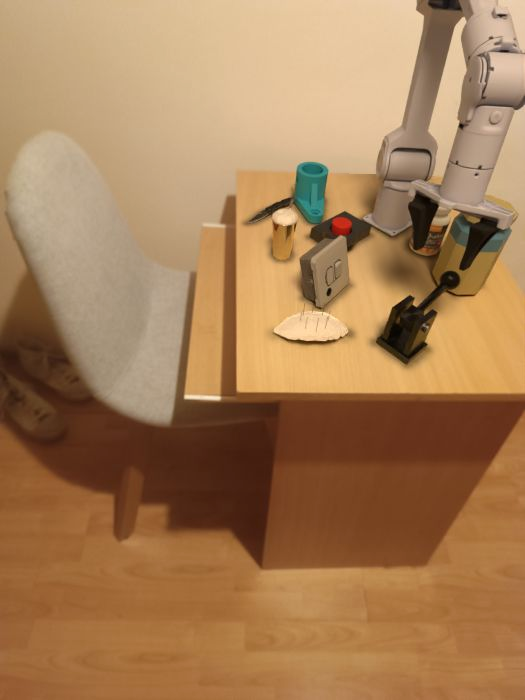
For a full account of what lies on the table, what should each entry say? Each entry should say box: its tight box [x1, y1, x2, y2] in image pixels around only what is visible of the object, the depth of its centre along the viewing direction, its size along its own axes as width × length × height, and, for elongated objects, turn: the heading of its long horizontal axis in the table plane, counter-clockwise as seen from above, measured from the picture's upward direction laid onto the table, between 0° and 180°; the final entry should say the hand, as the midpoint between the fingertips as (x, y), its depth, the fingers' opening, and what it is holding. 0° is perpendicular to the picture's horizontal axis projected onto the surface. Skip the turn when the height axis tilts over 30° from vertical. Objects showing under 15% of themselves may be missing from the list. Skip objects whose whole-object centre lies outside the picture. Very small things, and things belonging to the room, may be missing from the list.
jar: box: [431, 194, 520, 295], centre depth 79 cm, size 9×9×15 cm
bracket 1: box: [293, 161, 329, 224], centre depth 96 cm, size 6×12×7 cm, turn 6°
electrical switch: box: [298, 235, 350, 309], centre depth 78 cm, size 9×5×9 cm, turn 141°
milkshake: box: [271, 199, 299, 261], centre depth 84 cm, size 4×5×10 cm
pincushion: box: [273, 298, 350, 342], centre depth 72 cm, size 12×6×6 cm, turn 93°
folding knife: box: [247, 197, 295, 224], centre depth 97 cm, size 13×1×2 cm
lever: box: [399, 270, 460, 333], centre depth 70 cm, size 12×3×3 cm, turn 132°
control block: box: [309, 210, 372, 249], centre depth 90 cm, size 11×9×4 cm
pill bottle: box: [409, 206, 453, 257], centre depth 87 cm, size 6×6×10 cm
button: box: [331, 217, 352, 236], centre depth 87 cm, size 4×4×2 cm
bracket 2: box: [375, 294, 439, 365], centre depth 70 cm, size 5×6×8 cm
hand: (440, 257), depth 68 cm, fingers open, 7 cm apart
